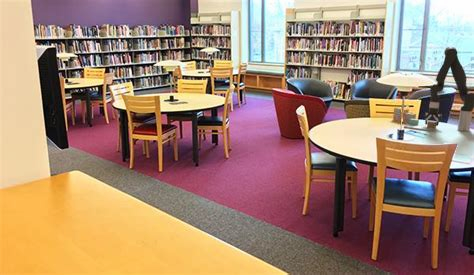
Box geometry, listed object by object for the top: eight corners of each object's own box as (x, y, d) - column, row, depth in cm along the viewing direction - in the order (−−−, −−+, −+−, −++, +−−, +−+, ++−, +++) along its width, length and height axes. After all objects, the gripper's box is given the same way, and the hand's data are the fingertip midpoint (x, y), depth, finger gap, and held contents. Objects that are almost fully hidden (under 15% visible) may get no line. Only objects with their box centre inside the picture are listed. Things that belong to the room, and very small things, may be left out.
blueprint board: (407, 125, 374) (408, 124, 374) (436, 129, 360) (436, 127, 359) (403, 127, 365) (403, 126, 364) (432, 131, 350) (433, 130, 350)
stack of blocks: (415, 123, 384) (416, 110, 381) (410, 124, 381) (411, 111, 379) (397, 119, 403) (398, 107, 400) (392, 120, 400) (394, 107, 397)
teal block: (411, 124, 379) (411, 118, 377) (418, 125, 375) (418, 119, 374) (409, 125, 374) (410, 119, 373) (416, 126, 371) (417, 120, 369)
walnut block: (428, 127, 370) (429, 120, 368) (435, 128, 366) (436, 121, 365) (426, 128, 365) (427, 121, 364) (434, 129, 362) (434, 122, 360)
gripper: (443, 107, 359) (441, 125, 363) (426, 105, 367) (423, 123, 371) (442, 108, 353) (439, 127, 357) (424, 106, 361) (421, 124, 365)
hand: (431, 125), depth 364 cm, fingers open, 8 cm apart
